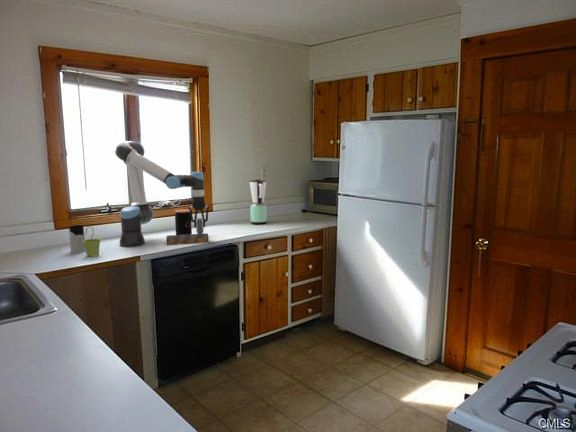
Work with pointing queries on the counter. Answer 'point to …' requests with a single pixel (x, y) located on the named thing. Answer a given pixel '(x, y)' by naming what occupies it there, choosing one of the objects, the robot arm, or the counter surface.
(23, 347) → the counter surface
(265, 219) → the mint green blender
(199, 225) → the fader
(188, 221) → the coffee jar
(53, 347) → the counter surface
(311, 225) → the counter surface
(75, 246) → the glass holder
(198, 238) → the block
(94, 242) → the plant pot
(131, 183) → the robot arm
